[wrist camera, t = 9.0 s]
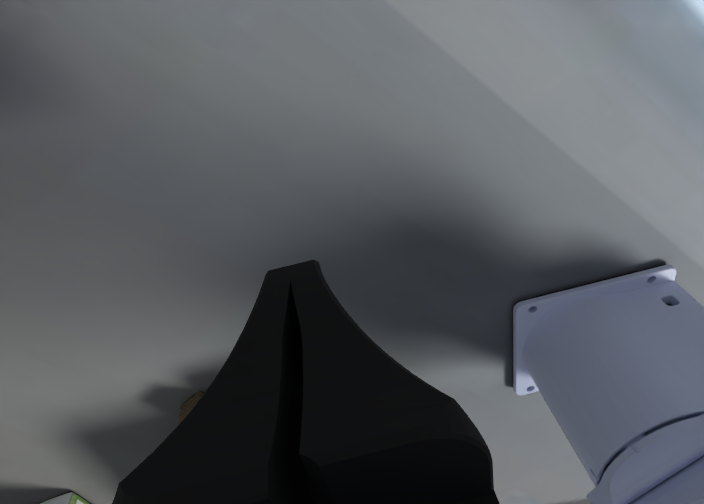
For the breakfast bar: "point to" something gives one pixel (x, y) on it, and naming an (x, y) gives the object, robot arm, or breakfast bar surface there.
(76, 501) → the syrup box
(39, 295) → the breakfast bar surface
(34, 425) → the breakfast bar surface
